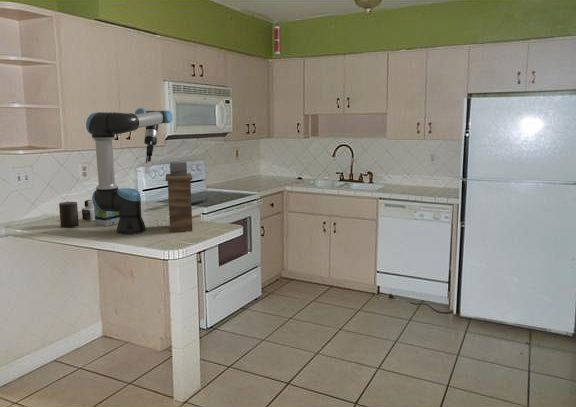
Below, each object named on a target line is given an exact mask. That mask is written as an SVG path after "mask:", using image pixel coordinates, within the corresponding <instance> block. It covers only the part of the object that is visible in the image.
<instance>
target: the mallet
mask: <svg viewBox="0 0 576 407" xmlns="http://www.w3.org/2000/svg"><path fill="white" fill-rule="evenodd" d="M187 164H188V163H187V161H169V170H170V171H169V174H170V176H184V175H187V173H188V169H187V168H188V166H187Z"/></svg>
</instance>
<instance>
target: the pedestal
mask: <svg viewBox="0 0 576 407" xmlns="http://www.w3.org/2000/svg"><path fill="white" fill-rule="evenodd" d="M191 181H193V176H192V173H190V172H187V175H184V176H170V173H166V174H165V182H167V194H168V195H167V196H168V197H167V198H168V212H169V214H168V216H169V232H170V233H183V232H186V231H188V232H193V212H192V191H191V190H192V189H191V188H192V187H191V185H192V184H191Z"/></svg>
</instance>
